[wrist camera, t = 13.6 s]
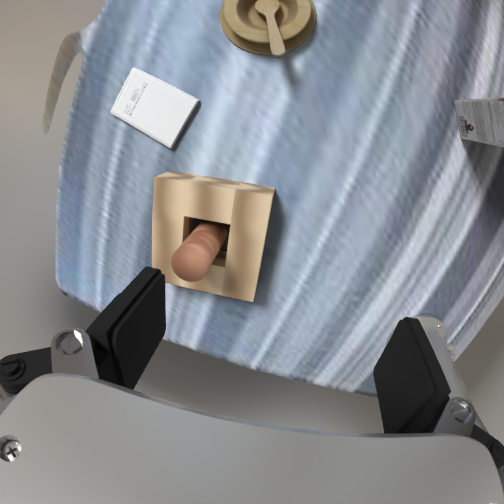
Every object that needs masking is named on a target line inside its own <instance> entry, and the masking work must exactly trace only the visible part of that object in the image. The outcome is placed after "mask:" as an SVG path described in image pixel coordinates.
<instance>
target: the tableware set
mask: <svg viewBox="0 0 504 504" xmlns="http://www.w3.org/2000/svg"><path fill="white" fill-rule="evenodd" d="M220 23H221V27H222V29H223V32H224V33H225V35H226V36H227V37H228V39H229V40H230V41H231V42H233V43H234V44H235V45H236V46H238V47H240V48H242V49H244V50H246V51H248V52H252V53H255V54H262V55H273V56H274V57H277V58H280V57H283V56H284V55H285V53H286V52H288V51H290V50H292V49H294V48H296V47H298V46H299V45H301V44H302V43H303V42H304V41H306V40H307V38H308V37H309V36H310V35H311V33H312V31H313V29H314V27H315V23H316V11H315V7H314V5H313V2H312V0H225V1H224V3H223V5H222V7H221V11H220Z"/></svg>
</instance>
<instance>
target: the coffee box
mask: <svg viewBox="0 0 504 504" xmlns="http://www.w3.org/2000/svg"><path fill="white" fill-rule="evenodd" d="M454 105H455V109H456V114H457V119H458V125H459V130H460V136H461V139H463V140H469V141H474V142H479V143H484V144H488V145H493V146H497V147H501V148H504V98H485V99H466V100H455V101H454Z"/></svg>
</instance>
